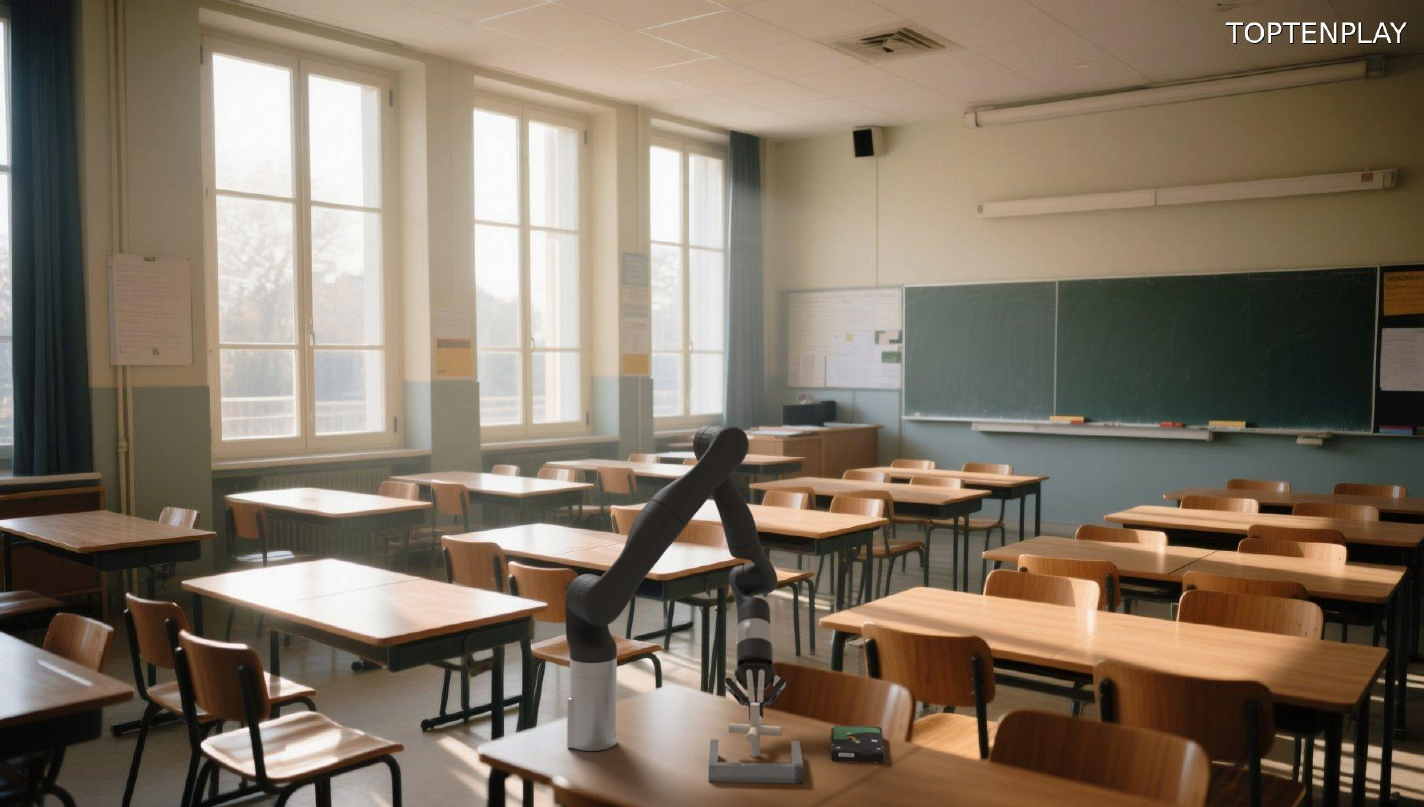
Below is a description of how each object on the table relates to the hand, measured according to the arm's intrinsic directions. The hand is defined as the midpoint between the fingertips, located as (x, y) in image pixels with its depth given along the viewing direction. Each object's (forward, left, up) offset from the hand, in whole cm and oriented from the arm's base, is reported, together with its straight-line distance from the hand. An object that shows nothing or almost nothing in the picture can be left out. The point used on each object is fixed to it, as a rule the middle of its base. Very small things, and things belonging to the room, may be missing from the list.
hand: (756, 723), depth 200 cm
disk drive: (+20, -1, -5) cm, 21 cm away
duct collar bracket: (0, -12, -4) cm, 13 cm away
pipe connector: (0, -6, -5) cm, 7 cm away
